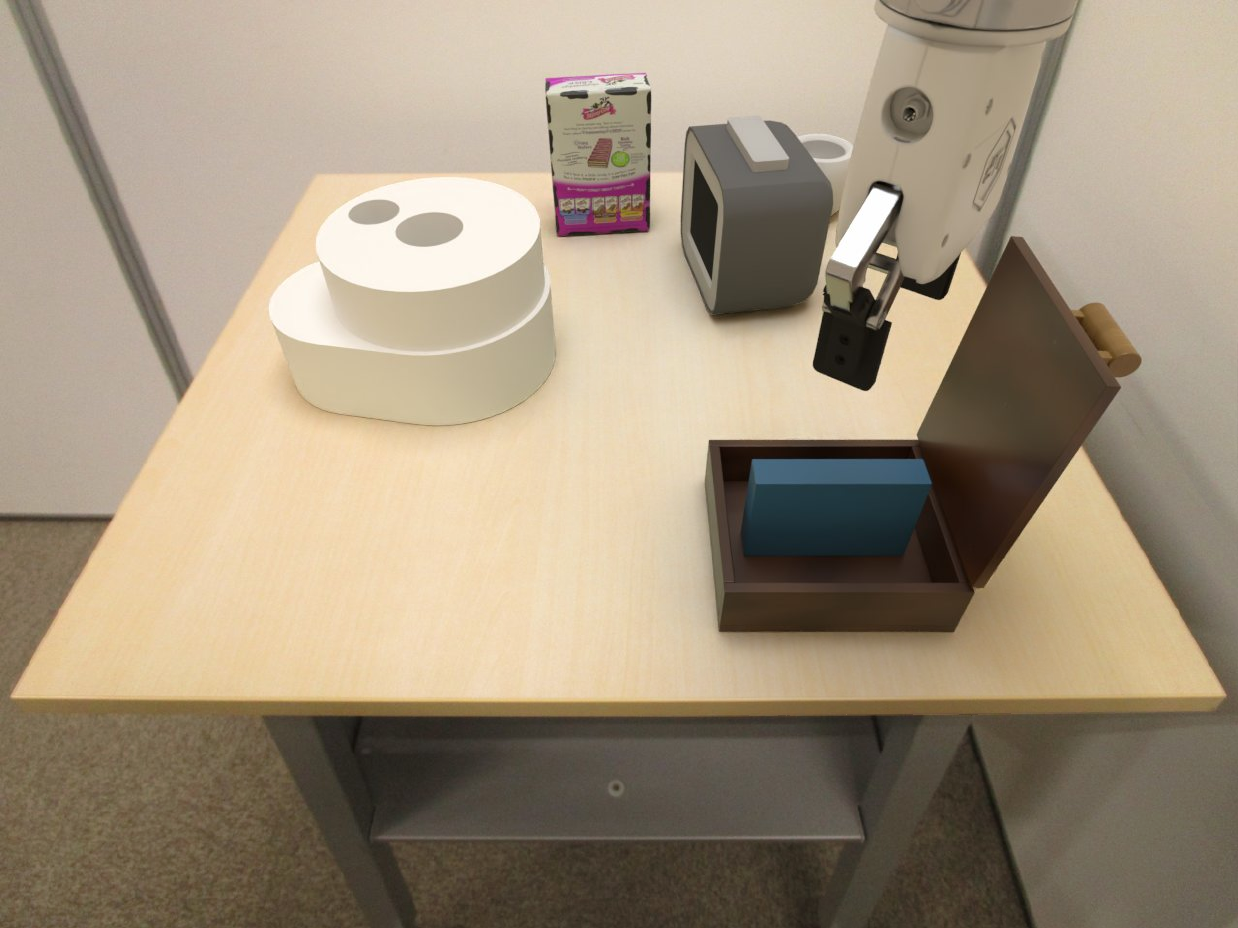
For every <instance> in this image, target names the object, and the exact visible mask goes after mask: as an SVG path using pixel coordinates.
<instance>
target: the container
mask: <svg viewBox="0 0 1238 928" xmlns="http://www.w3.org/2000/svg"><path fill="white" fill-rule="evenodd" d="M541 229H542V228H541V219H540V216H539V212H538V211H537V209H536V207H535V206H534V205H533V203H532V202H530V200H529V199H527V197H525V196H523V195H522V194H521V193H519V192H518V191H516V190H513V188H510V187H507V186H504V185H502V184H500V183H499V184H498V183H495V182H492V181H487V180H483V179H477V178H471V177H461V176H460V177H459V176H437V177H436V176H435V177H423V178H416V179H410V180H404V181H399V182H395V183H390V184H388V185H387V184H386V185H384V186H381V187H377V188H375V189H372V190H370V191H366V192H364V193H362V194H359V195H358V196H356V197H354V198H352V199H350V200H349V201H347V202H346V203H343V204H342V205H341V206H339V207H338V208H336V209H335V210H334V211H333V212H332V213H331V214H330V215H328V216H327V218H326V219H325V220H324V221H323V223H322V225H321V226H320V228H319V229H318V231H317V234H316V238H315V251H316V255H317V257H318V261H316V262H313V263H311V264H309V265H306V266H304V267H302V268H300V269H299V270H297V271H295V272H293V274H291V275H290V276H288V277H287V278H286V279H285V280H283V281H282V282H281V283H280V284H279V285H278V286H277V288H276V289H275V290H274V292H273V293H272V294H271V297H270V299H269V302H268V316H269V319H270V322H271V324H272V327H273V329H274V332H275V335H276V337H277V340H278V343H279V345H280V347H281V350H282V353H283V356H284V358H285V361H286V363H287V366H288V369H289V371H290V374H291V377H292V379H293V382H294V384H295V387H296V389H297V391H298V393H299V394H300V395H301V397H302V398H303V399H304V400H305V401H306V402H307V403H309V404H311V405H312V406H313V407H316V408H318V409H319V410H322V411H326V412H329V413H331V414H332V413H333V414H338V415H346V416H352V417H358V418H367V419H375V420H382V421H390V422H398V423H405V424H413V425H419V426H440V427H441V426H455V425H462V424H469V423H473V422H478V421H482V420H485V419H488V418H491V417H495V416H497V415H499V414H502V413H504V412H506V411H509V410H510V409H513V408H514V407H516V406H518V405H519V404H521V403H523V402H524V401H525V400H527V399H529V398H530V397H531V396H533V394H535V392H537V391H538V390H539V389H540V388H541V387H542V385H543V384H544V383H545V382H546V381H547V379H548V378H549V376H550V375H551V372H552V370H553V368H554V366H555V362H556V355H557V350H556V338H555V337H556V336H555V324H554V312H553V301H552V300H553V298H552V285H551V276H550V272H549V270H548V267H547V265H546V264H545V262H544V254H543V253H544V252H543V243H542V241H543V240H542V231H541Z"/></svg>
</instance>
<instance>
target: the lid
mask: <svg viewBox="0 0 1238 928" xmlns="http://www.w3.org/2000/svg"><path fill="white" fill-rule="evenodd" d="M1141 365H1142V355H1141V354H1140V353H1139V351H1138V350H1137V348H1136V347H1135V346H1134V345H1133V343H1132V342H1131V340H1130V339H1129V337H1128V336H1127V335H1126V333H1125V331H1123V329H1122V328H1121V326H1120V324H1119V323H1118V322H1117V321H1116V319H1115V317H1114V316H1113V315H1112V314H1111V312H1110V311H1109V310H1108V308H1107V306H1106V305H1105V304H1103V303H1101V302H1090V303H1087V304H1085V305H1083V306H1081V307H1080V308H1079V309H1077V310H1076V309H1071V308H1070V306H1069V305H1068V303H1067V302H1066V301H1065V299H1064V297H1063V296H1062V294H1061V292H1060V291H1059V290H1058V288H1057V287H1056V285H1055V284H1054V283H1053V280H1052V279H1051V277H1050V276H1049V274H1048V273H1047V272H1046V270H1045V268H1044V267H1043V266H1042V264H1041V263H1040V261H1039V259H1038V258H1037V257H1036V255H1035V254H1034V252H1033V250H1032V249H1031V246H1030V245H1029V244H1028V243H1027V241H1026V239H1025V238H1024V237H1023V236H1014V235H1011V236H1010V237H1009V239H1008V241H1007V243H1006V246H1005V248H1004V250H1003V252H1002V254H1001V256H1000V258H999V261H998V262H997V264H996V266H995V268H994V271H993V273H992V274H991V277H990V279H989V281H988V283H987V285H986V288H985V290H984V292H983V294H982V296H981V298H980V300H979V303H978V305H977V307H976V308H975V310H974V313H973V315H972V317H971V319H970V321H969V323H968V325H967V328H966V330H965V332H964V333H963V335H962V338H961V340H960V342H959V344H958V346H957V348H956V350H955V352H954V354H953V356H952V358H951V361H950V363H949V365H948V368H947V370H946V372H945V373H944V376H943V378H942V380H941V382H940V384H939V387H937V390H936V392H935V394H934V397H933V399H932V401H931V403H930V405H929V407H928V409H927V411H926V413H925V416H924V417H923V419H922V422H921V424H920V426H919V428H918V430H917V432H916V437H917V440H919V443H920V446H921V449H922V451H923V454H924V457H925V460H926V463H927V465H928V468H929V471H930V474H931V476H932V479H933V482H934V485H935V487H936V490H937V493H938V496H939V498H940V501H941V504H942V507H943V509H944V512H945V515H946V518H947V520H948V523H949V526H950V529H951V531H952V534H953V537H954V540H955V542H956V545H957V548H958V551H959V554H960V556H961V559H962V562H963V565H964V567H965V570H966V573H967V576H968V578H969V581H970V584H971V587H972V588H974V589H984V588H985V587H986V585H987V584H988V582H989V581H990V579H991V578H992V576H993V575H994V574H995V572H996V571H997V569H998V568H999V567H1000V565H1001V563H1002V562H1003V561H1004V559H1005V558H1006V556H1007V555H1008V553H1009V552H1010V550H1011V549H1012V547H1013V546H1014V545H1015V543H1016V541H1017V540H1018V539H1019V537H1020V536H1021V534H1022V533H1023V531H1024V530H1025V529H1026V527H1027V526H1028V524H1029V523H1030V521H1031V520H1032V518H1033V517H1034V515H1035V514H1036V513H1037V511H1038V510H1039V509H1040V507H1041V506H1042V504H1043V503H1044V501H1045V500H1046V498H1047V496H1048V495H1049V493H1050V492H1051V491H1052V489H1053V488H1054V486H1055V485H1056V484H1057V482H1058V481H1059V479H1060V478H1061V476H1062V475H1063V473H1064V472H1065V471H1066V469H1067V467H1069V465H1070V463H1071V462H1072V460H1074V457H1075V456H1076V454H1078V452H1079V450H1080V449H1081V447H1082V446H1083V444H1084V443H1085V441H1086V440H1087V438H1088V437H1089V435H1090V434H1091V433H1092V431H1093V430H1094V428H1095V427H1096V425H1097V424H1098V422H1099V421H1100V419H1101V418H1102V417H1103V415H1104V414H1105V412H1106V411H1107V410H1108V408H1109V407H1110V405H1111V404H1112V403H1113V400H1114V399H1115V398H1116V396H1117V395H1118V393H1119V392H1120V390H1121V389H1122V386H1121V384H1120V383H1119V381H1118V380H1117V378H1126V377H1128V376H1129V375H1131V374H1134V373H1135V372H1136V371H1137V370H1138V369H1139V368H1140V366H1141Z"/></svg>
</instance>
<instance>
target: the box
mask: <svg viewBox="0 0 1238 928" xmlns="http://www.w3.org/2000/svg"><path fill="white" fill-rule="evenodd" d="M706 454H707V455H706V463H705V474H704V489H705V499H706V511H707V512H706V513H707V519H708V520H707V522H708V532H709V533H708V534H709V543H710V553H711V564H712V574H713V576H712V577H713V584H714V596H715V606H716V607H715V608H716V617H717V628H718V632H719V633H720V632H721V633H722V632H724V633H726V632H727V633H730V632H731V633H736V632H737V633H738V632H739V633H740V632H741V633H743V632H744V633H745V632H746V633H747V632H749V633H750V632H753V633H754V632H757V633H763V632H765V633H766V632H767V633H772V632H773V633H777V632H779V633H785V632H786V633H787V632H788V633H791V632H792V633H794V632H795V633H798V632H799V633H821V632H822V633H839V632H842V633H926V632H927V633H954V632H956V629H957V627H958V625H959V624H960V622H961V620H962V618H963V616H964V614H965V612H966V610H967V608H968V607H969V604H970V603H971V601H972V599H973V597H974V596H975V593H976V590H975V588H972V587H971V584H970V581H969V578H968V576H967V573H966V570H965V567H964V565H963V562H962V559H961V556H960V554H959V551H958V548H957V545H956V542H955V540H954V537H953V534H952V531H951V529H950V526H949V523H948V520H947V518H946V515H945V512H944V509H943V507H942V504H941V501H940V498H939V496H938V493H937V490H936V487H935V485H934V482H933V479H932V476H931V474H930V471H929V468H928V465H927V463H926V460H925V457H924V454H923V451H922V449H921V446H920V443H919V440H918V439H708V444H707V453H706ZM752 459H923V460H924V463H925V465H926V468H927V471H928V474H929V476H930V479H931V482H932V485H931V488H930V490H929V493H928V495H927V498H926V500H925V503H924V505H923V508H922V510H921V513H920V515H919V518H918V520H917V523H916V526H915V528H914V531H913V533H912V536H911V538H910V541H909V543H908V546H907V548H906V551H905V553H904V555H903V556H744V554H743V546H742V538H741V526H742V520H743V514H744V507H745V501H746V495H747V488H748V482H749V476H750V470H751V463H752Z"/></svg>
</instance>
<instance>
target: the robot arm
mask: <svg viewBox="0 0 1238 928" xmlns="http://www.w3.org/2000/svg"><path fill="white" fill-rule="evenodd" d="M1078 4H1079V0H875V2H874V6H873V7H874V8H873V10H874V12H875V15H876V16H877V18H879V19H880V20H881V21H882V22H883V23H885V24H886V25H887V26H886V28H885V31H884V34H883V38H882V41H881V45H880V47H879V51H878V54H877V57H876V61H875V64H874V68H873V72H872V75H871V77H870V82H869V86H868V90H867V92H866V95H865V96H866V97H865V100H864V103H863V104H864V105H863V108H862V110H861V115H860V119H859V123H858V127H857V129H856V130H857V131H856V134H855V138H854V142H853V150H852V154H851V158H850V162H849V167H848V171H847V175H846V180H845V184H844V189H843V194H842V199H841V204H840V209H839V210H838V215H837V222H836V229H835V238H834V240H835V241H834V244H835V250H834V251H833V253H832V255H831V256H830V258H829V260H828V261H827V264H826V267H825V271H824V278H825V285H824V287H823V290H822V296H823V300H822V305H821V311H822V317H821V321H820V325H819V326H820V327H819V330H818V335H817V341H816V345H815V346H816V347H815V350H814V355H813V359H812V368H813V369H814V371H815V372H817V373H819V374H821V375H824V376H826V377H828V378H831V379H834V380H836V381H838V382H840V383H843V384H845V385H848V386H850V387H853V388H855V389H857V390H860V391H863V392H868V391H870V390H871V389H872V388H873V386H874V385H875V384H876V381H877V377H878V374H879V371H880V367H881V364H882V361H883V357H884V353H885V349H886V346H887V343H888V339H889V335H890V332H891V329H892V325H893V322H892V321H890V320H887V316H888V314H889V312H890V310H891V308H892V306H893V304H894V301H895V299H896V297H897V295H898V293H899V291H900V289H904V290H906V291H910V292H913V293H915V294H919V295H921V296H924V297H927V298H929V299H933V300H935V301H941V300H943V299H945V298H946V296H947V294H948V293H949V292H950V288H951V285H952V282H953V279H954V276H955V273H956V270H957V267H958V264H959V262H960V261H959V260H960V258H961V254H962V252H963V251H964V250H965V249H966V248H967V246H969V244H971V242H972V241H973V239H974V238H975V237H976V235H978V233H979V232H980V231H981V229H983V227H984V226H985V225H986V223H987V222H988V221H989V219H990V218H991V217H992V215H993V214H994V212H995V211H996V209H997V206H998V204H999V202H1000V200H1001V198H1002V194H1003V191H1004V188H1005V184H1006V182H1007V178H1008V175H1009V171H1010V169H1011V165H1012V162H1013V159H1014V155H1015V152H1016V149H1017V145H1018V142H1019V140H1020V136H1021V132H1022V129H1023V126H1024V122H1025V119H1026V116H1027V112H1028V109H1029V106H1030V103H1031V99H1032V96H1033V92H1034V89H1035V86H1036V83H1037V79H1038V75H1039V72H1040V68H1041V64H1042V61H1043V56H1044V53H1045V49H1046V44H1047V41H1052V40H1053V41H1054V40H1055V39H1057V38H1060V37H1061V36H1063V35H1064V34H1065V33H1066V32H1068V30H1069V28H1070V26H1071V23H1072V21H1073V18H1074V15H1075V12H1076V9H1077V6H1078ZM882 244H886V245H887V246H888V245H889V246H891V247H895V248H896V250H897V255H896V258H895V257H892V256H889V255H886V254H883V253H879V252H878V250H879V248H880V247H881V245H882ZM868 269H870V270H873V271H877V272H880V273H882V274H885V275H886V276H885V278H884V280H883V282H882V284H881V287H880V289H879V292H878V294H877V295H876V298H875V297H874V295H873V293H872V291H871V290H870V289H869V288H867V287H864V286H863V285H864V284H865V282H866V276H867V271H868Z"/></svg>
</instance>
